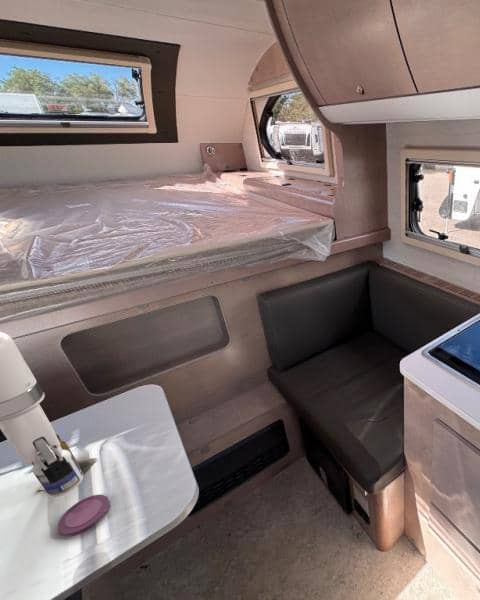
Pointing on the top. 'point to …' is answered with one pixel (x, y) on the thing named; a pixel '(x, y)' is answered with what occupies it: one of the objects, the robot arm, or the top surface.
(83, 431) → the top surface
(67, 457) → the pill bottle
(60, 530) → the saucer
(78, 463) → the condiment
